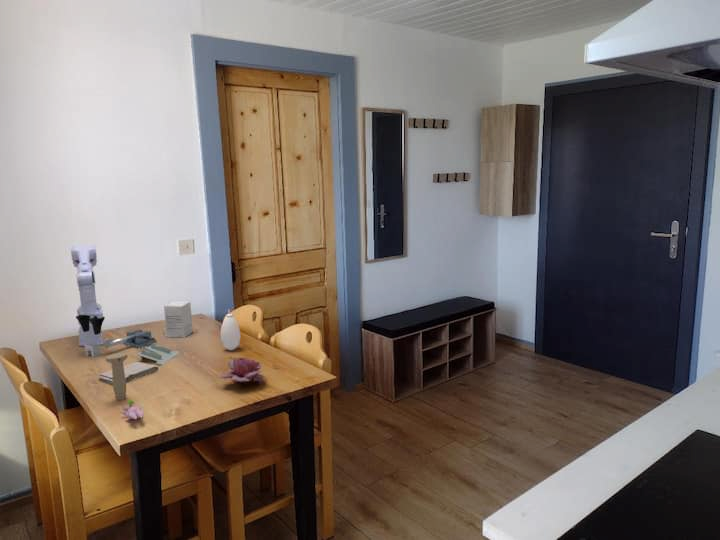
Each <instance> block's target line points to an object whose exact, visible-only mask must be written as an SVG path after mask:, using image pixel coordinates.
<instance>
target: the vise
mask: <svg viewBox="0 0 720 540" xmlns="http://www.w3.org/2000/svg"><path fill="white" fill-rule="evenodd" d="M102 341H103V344H102V345H103V346H104V347H105V348H110V347H115V346H116V345H120V344H122V345H123V344H125V345H124V346H128V345H130V346H129V347H132V346H135V347H134V348H136V347H140V348H139V349H143V348H142V347H145V346H147V347H149V346H148V345H150V346H151V344H154V343H156V344H157V340H156V338H155V337H152V331H150V330H143V329H141V328H137V329H133V330H130V331H126V336H124V337H121V338H117V339H114V340H111V338H109V337H108V338H107V337H106V338H104V339H103V338H102ZM145 348H146V347H145Z"/></svg>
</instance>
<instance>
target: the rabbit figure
mask: <svg viewBox="0 0 720 540" xmlns="http://www.w3.org/2000/svg"><path fill="white" fill-rule="evenodd" d="M142 408H143V406H140V407H138V406H136V404H135V403H134V400H133V399H132V398H130V399H129V401H128V405H126V406H125V405H123V411H122V410H121V411H120V412H119V413H121V414H124V417H125V418H126V419H131V420H137V419H138V418H140V419H142V418H143V416H144V414H145V413H144V411H143V410H142Z"/></svg>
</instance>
